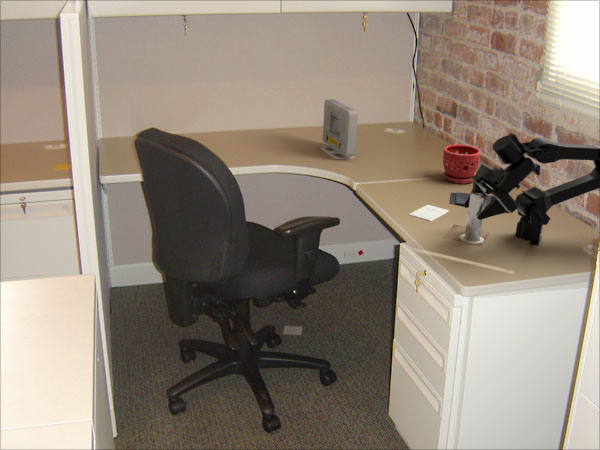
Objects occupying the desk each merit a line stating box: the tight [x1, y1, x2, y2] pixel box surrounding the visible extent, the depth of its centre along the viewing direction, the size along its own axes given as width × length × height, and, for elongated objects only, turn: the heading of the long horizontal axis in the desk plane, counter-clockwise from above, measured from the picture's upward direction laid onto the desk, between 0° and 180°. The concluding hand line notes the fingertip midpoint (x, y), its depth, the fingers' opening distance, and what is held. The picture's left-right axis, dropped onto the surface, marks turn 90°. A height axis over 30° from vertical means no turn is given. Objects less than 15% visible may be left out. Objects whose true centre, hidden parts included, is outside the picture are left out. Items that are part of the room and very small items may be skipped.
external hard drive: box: [407, 204, 450, 222], centre depth 202 cm, size 2×8×12 cm
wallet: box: [449, 191, 512, 214], centre depth 215 cm, size 20×2×15 cm
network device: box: [320, 99, 359, 161], centre depth 262 cm, size 26×9×20 cm, turn 20°
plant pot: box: [442, 144, 481, 184], centre depth 235 cm, size 13×13×12 cm
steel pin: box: [464, 193, 487, 241], centre depth 181 cm, size 4×4×13 cm
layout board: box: [442, 223, 491, 247], centre depth 187 cm, size 11×12×1 cm
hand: (471, 212), depth 180 cm, fingers open, 9 cm apart
